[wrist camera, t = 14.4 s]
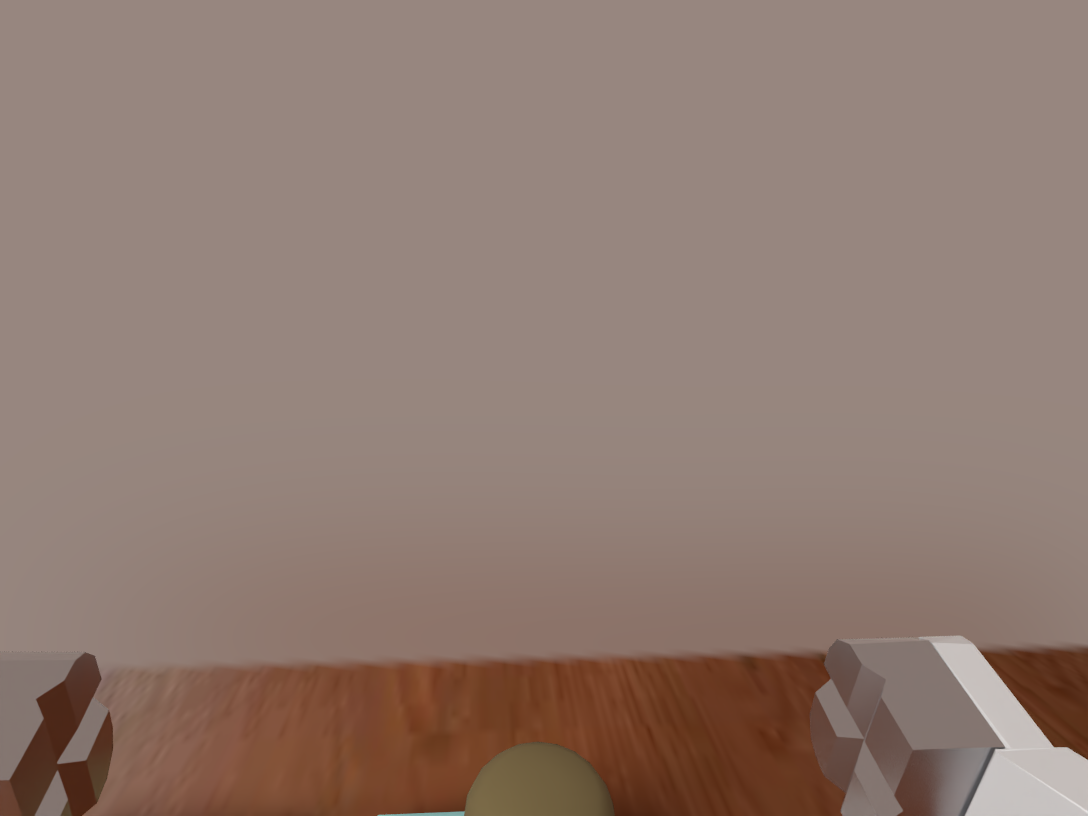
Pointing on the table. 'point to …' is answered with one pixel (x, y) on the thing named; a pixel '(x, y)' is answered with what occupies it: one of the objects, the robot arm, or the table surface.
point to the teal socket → (430, 814)
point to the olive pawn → (538, 784)
